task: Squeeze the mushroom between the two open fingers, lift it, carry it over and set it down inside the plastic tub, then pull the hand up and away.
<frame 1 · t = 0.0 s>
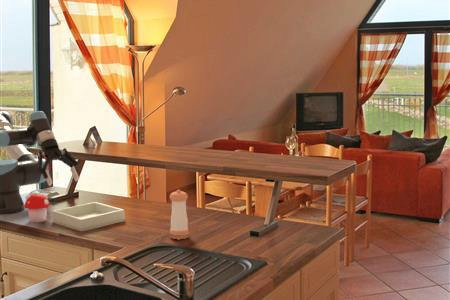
hand: (64, 182, 261), 15 cm above the counter, tool tilted 35°, fingers open, 13 cm apart
tub: (88, 221, 252), on the counter
pepper shaker: (179, 238, 227), on the counter
mushroom: (38, 221, 254), on the counter
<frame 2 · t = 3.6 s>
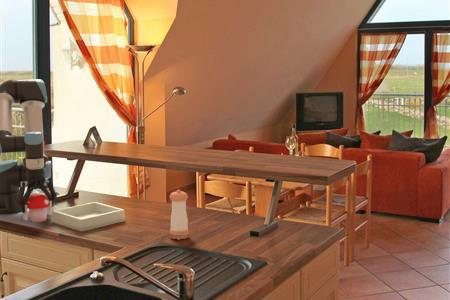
hand: (37, 217, 254), 2 cm above the counter, tool pointing down, fingers closed on mushroom, 11 cm apart
mushroom: (38, 221, 254), on the counter, touching gripper
everything else where it was.
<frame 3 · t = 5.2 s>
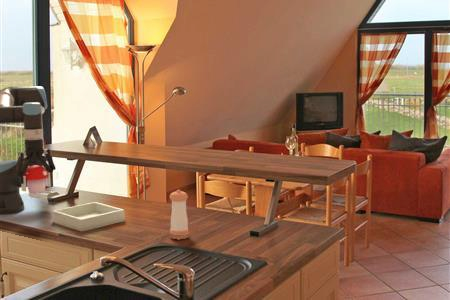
hand: (36, 188, 252), 14 cm above the counter, tool pointing down, fingers closed on mushroom, 11 cm apart
mushroom: (36, 192, 253), point 12 cm above the counter, touching gripper
everything else where it was.
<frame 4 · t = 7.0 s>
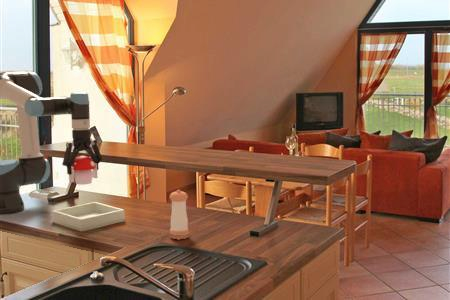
hand: (83, 179, 249), 18 cm above the counter, tool pointing down, fingers closed on mushroom, 11 cm apart
mushroom: (84, 183, 250), point 17 cm above the counter, touching gripper
everything else where it was.
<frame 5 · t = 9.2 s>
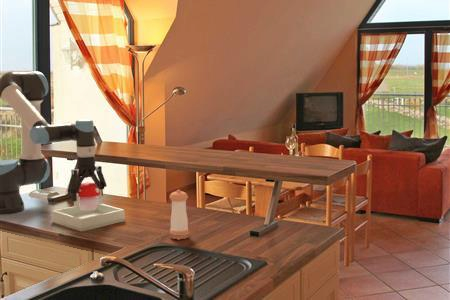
hand: (88, 205, 251), 7 cm above the counter, tool pointing down, fingers closed on mushroom, 11 cm apart
mushroom: (88, 209, 251), point 5 cm above the counter, touching gripper
everything else where it was.
when the fingers open (4 cm above the counter, at t = 10.9 s): mushroom drops 1 cm, resting on tub.
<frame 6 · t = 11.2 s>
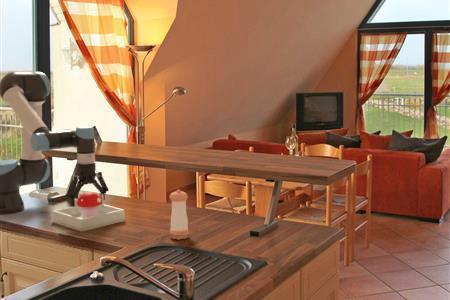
hand: (88, 210, 252), 5 cm above the counter, tool pointing down, fingers open, 13 cm apart
mushroom: (90, 219, 253), point 1 cm above the counter, touching tub
everything else where it was.
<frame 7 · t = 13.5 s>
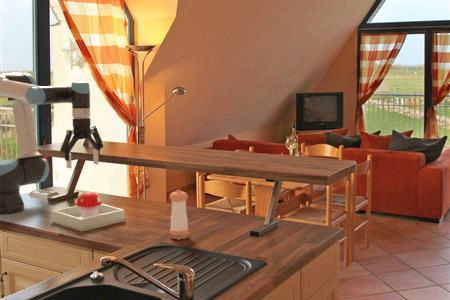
hand: (82, 166, 254), 24 cm above the counter, tool pointing down, fingers open, 13 cm apart
nothing on the counter moved.
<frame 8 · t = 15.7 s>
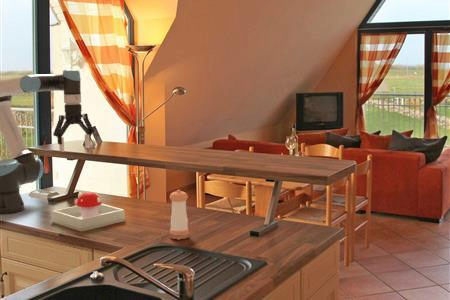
hand: (74, 149, 268), 29 cm above the counter, tool pointing down, fingers open, 13 cm apart
nothing on the counter moved.
at the end: mushroom inside the target area on the tub (0.7 cm from its centre), point 0.8 cm above the tub's base; the gripper is holding nothing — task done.
